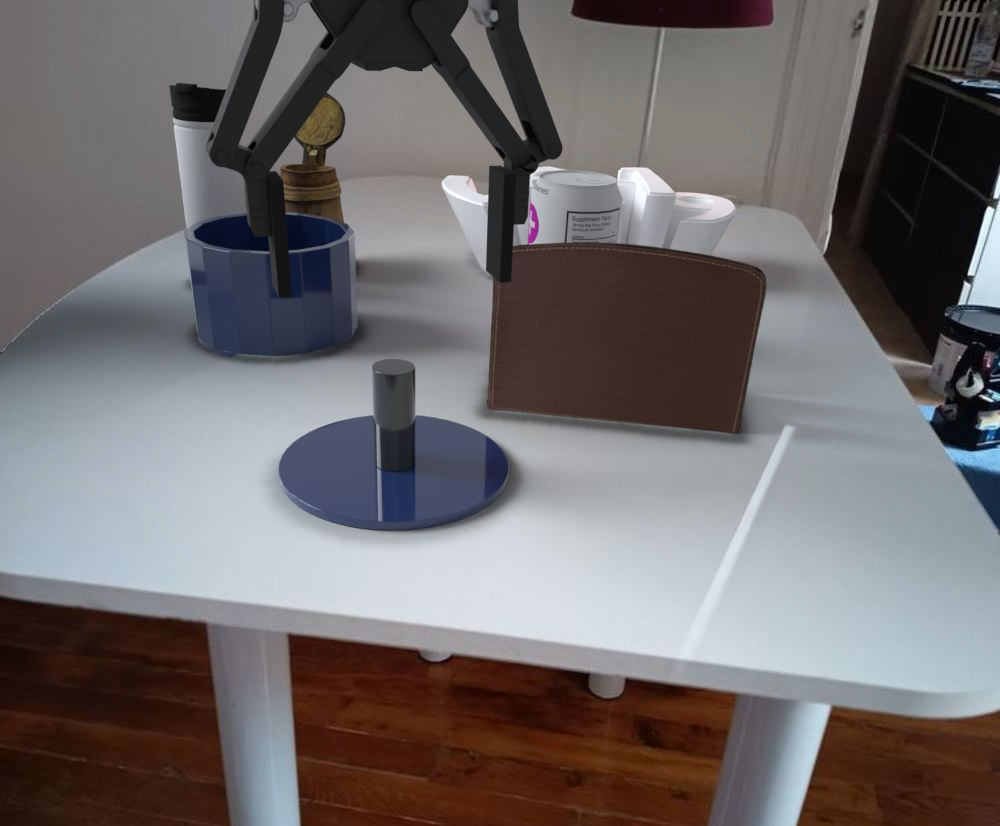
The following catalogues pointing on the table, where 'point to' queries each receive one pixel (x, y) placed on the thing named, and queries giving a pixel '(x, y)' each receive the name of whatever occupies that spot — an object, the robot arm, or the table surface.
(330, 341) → the pot
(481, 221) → the wavy white extrusion
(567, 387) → the letter holder
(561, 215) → the supplement can
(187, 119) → the travel mug
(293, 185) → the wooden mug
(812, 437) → the table surface
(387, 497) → the lid
